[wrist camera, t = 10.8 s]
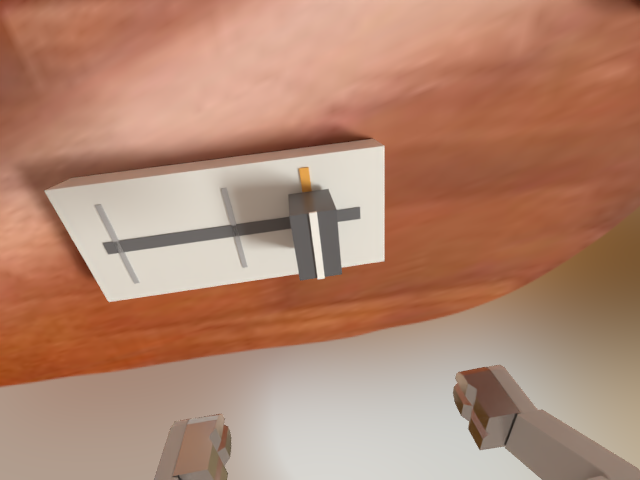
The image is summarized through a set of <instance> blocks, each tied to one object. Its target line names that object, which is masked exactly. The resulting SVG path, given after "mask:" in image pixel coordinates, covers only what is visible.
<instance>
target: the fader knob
mask: <svg viewBox="0 0 640 480" xmlns="http://www.w3.org/2000/svg"><path fill="white" fill-rule="evenodd" d="M288 200H289V218H290V224H291V230H292V236H293V242H294V248H295V254H296V260H297V265H298V271H299V277H300V280H306V279H313V278H318V279H324V278H325V277H326V276H333V275H340V274H342V268H341V257H340V245H339V233H338V221H337V209H336V207H335V204H334V202H333V199H332V197H331V194H330V192H329V189H324V190H316V191H309V192H302V193H294V194H288Z"/></svg>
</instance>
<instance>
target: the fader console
mask: <svg viewBox="0 0 640 480" xmlns="http://www.w3.org/2000/svg"><path fill="white" fill-rule="evenodd" d="M324 189H329V192H330V194H331V197H332V199H333V202H334V204H335V207H336V209H337V221H338V233H339V245H340V257H341V267H348V266H354V265H361V264H368V263H375V262H381V261H384V145H382V144H381V143H379V142H378V141H376V140H375V139H367V140H359V141H351V142H344V143H336V144H328V145H321V146H313V147H305V148H297V149H290V150H282V151H274V152H267V153H259V154H251V155H244V156H236V157H228V158H221V159H213V160H205V161H198V162H190V163H182V164H174V165H167V166H159V167H151V168H144V169H136V170H128V171H121V172H113V173H105V174H98V175H90V176H82V177H75V178H70V179H68V180H66V181H63V182H61V183H59V184H57V185H55V186H53V187H51V188H48V189H46V190H44V192H45V193H46V195H47V197H48V198H49V200H50V202H51V204H52V205H53V207H54V209H55V210H56V212H57V214H58V216H59V217H60V219H61V221H62V223H63V224H64V226H65V228H66V229H67V231H68V233H69V235H70V236H71V238H72V240H73V241H74V243H75V245H76V247H77V248H78V250H79V252H80V254H81V255H82V257H83V259H84V260H85V262H86V264H87V266H88V267H89V269H90V271H91V272H92V274H93V276H94V278H95V279H96V281H97V283H98V284H99V286H100V288H101V290H102V291H103V293H104V295H105V297H106V298H107V300H108V302H112V301H118V300H125V299H132V298H139V297H145V296H152V295H159V294H166V293H172V292H179V291H186V290H193V289H199V288H206V287H213V286H220V285H226V284H233V283H240V282H247V281H253V280H260V279H267V278H274V277H280V276H287V275H294V274H299V271H298V265H297V260H296V254H295V248H294V242H293V236H292V230H291V224H290V218H289V200H288V194H294V193H302V192H309V191H316V190H324Z"/></svg>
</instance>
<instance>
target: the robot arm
mask: <svg viewBox="0 0 640 480" xmlns="http://www.w3.org/2000/svg"><path fill="white" fill-rule="evenodd" d="M455 379H456V381H457V382H458V383H457V384H456V385H455V386H454V390H453V396H454V401H455V404H456V406H457V408H458V410H459V412H460V414H461V416H462V417H464V418H465V419H467V420H468V421H469V431H470V433H471V435H472V436H473V439H474V440H475V442H476V444H477V446H478V448H479V449H480V450H484V449H490V448H497V447H503V446H506V447H505V448H506V449H507V450H508V451H509V452H511V453H512V454H513V455H514V456H515V457H516V458H518V459H519V460H520V461H521V462H522V463H523V464H525V465H526V466H527V467H528V468H529V469H530V470H532V471H533V472H534V473H535V474H536V475H537V476H538V477H540V478H541V479H542V480H640V470H639V469H638V468H637V467H635V466H633V465H632V464H630V463H628V462H627V461H625V460H624V459H622V458H620V457H619V456H617V455H616V454H614V453H612V452H611V451H609V450H607V449H605V448H604V447H602V446H601V445H599V444H598V443H596V442H594V441H593V440H591V439H589V438H588V437H586V436H584V435H583V434H581V433H580V432H578V431H576V430H575V429H573V428H572V427H570V426H568V425H567V424H565V423H563V422H562V421H560V420H558V419H557V418H555V417H554V416H552V415H550V414H549V413H547V412H546V411H544V410H537V408H536V407H535V406H534V405H533V403H532V402H531V401H530V399H529V398H528V397H527V396H526V394H525V393H524V392H523V391H522V389H521V388H520V387H519V385H518V384H517V383H516V382H515V380H514V379H513V378H512V376H511V375H510V374H509V373H508V371H507V370H506V369H505V368H504V367H503V366H501V365H495V366H489V367H482V368H477V369H472V370H467V371H462V372H458V373H457V374H456V378H455ZM224 420H225V419H224V417H223V415H222V414H216V415H211V416H205V417H199V418H193V419H186V420H180V421H175V422H174V423H173V425H172V427H171V428H170V431H169V434H168V438H167V441H166V444H165V447H164V450H163V453H162V456H161V459H160V463H159V466H158V469H157V472H156V475H155V478H154V480H227V476H228V473H227V471H226V469H225V467H224V466H225V464H226V463H227V461H228V460H229V458H230V452H231V434H230V430H229V428H228V426H226V425H224Z"/></svg>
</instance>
